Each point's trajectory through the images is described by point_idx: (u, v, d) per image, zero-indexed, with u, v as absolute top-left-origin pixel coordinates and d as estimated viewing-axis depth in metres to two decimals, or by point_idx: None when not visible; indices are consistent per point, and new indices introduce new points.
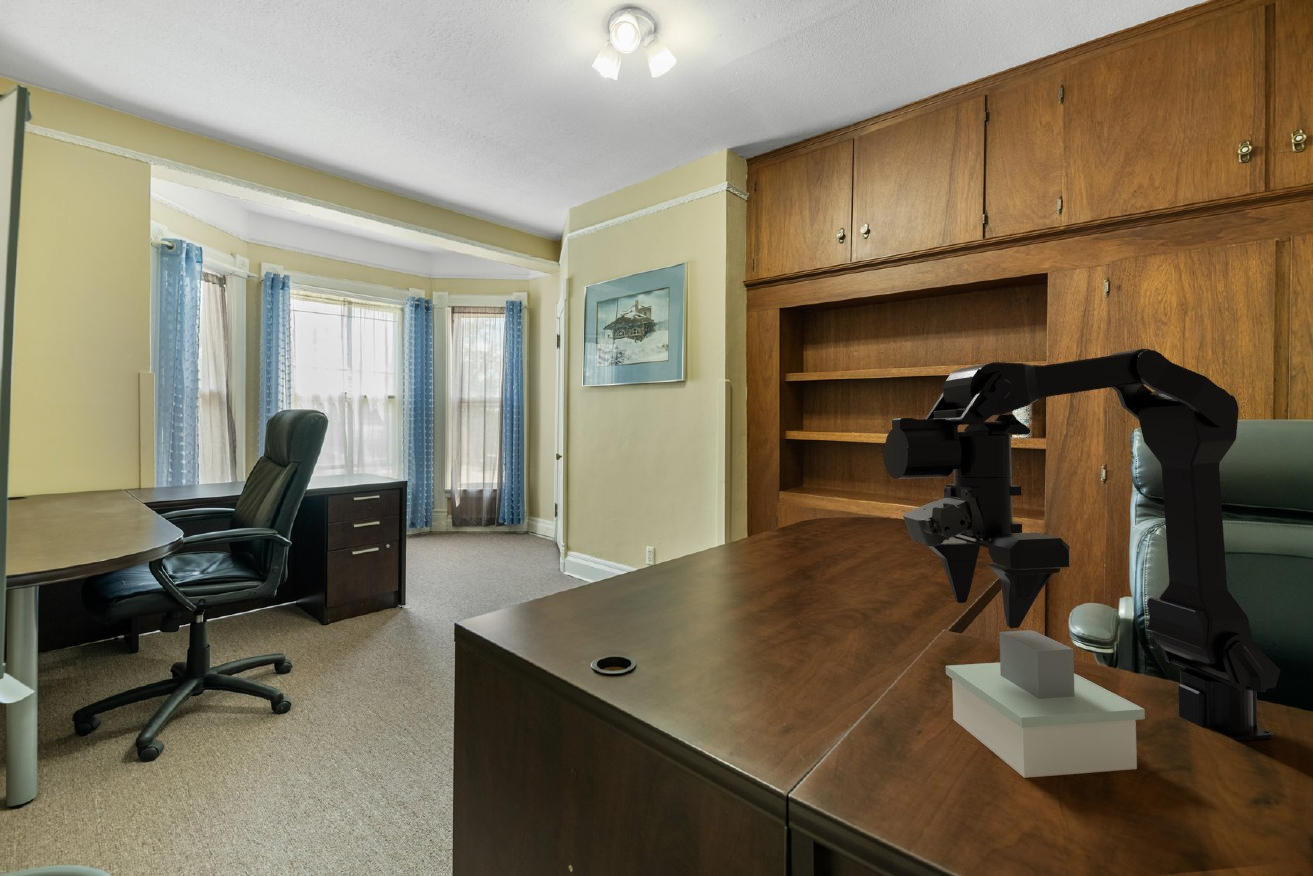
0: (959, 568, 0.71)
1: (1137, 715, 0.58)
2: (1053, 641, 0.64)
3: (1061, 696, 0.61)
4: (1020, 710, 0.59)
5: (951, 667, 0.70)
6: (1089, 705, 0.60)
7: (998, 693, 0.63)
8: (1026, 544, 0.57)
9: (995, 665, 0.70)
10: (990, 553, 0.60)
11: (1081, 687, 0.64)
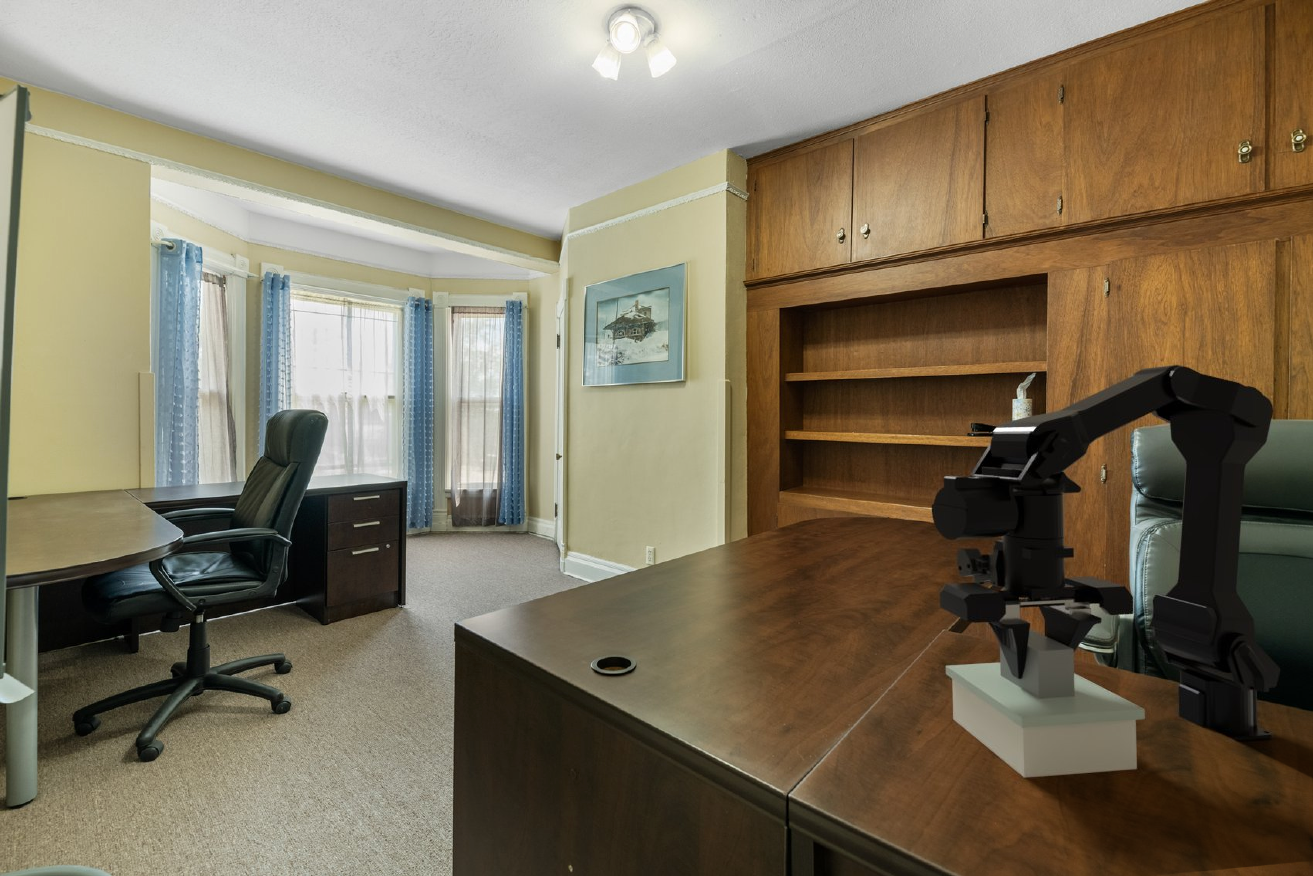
0: (1054, 638, 0.65)
1: (1137, 715, 0.58)
2: (1053, 641, 0.64)
3: (1061, 696, 0.61)
4: (1020, 710, 0.59)
5: (951, 667, 0.70)
6: (1089, 705, 0.60)
7: (998, 693, 0.63)
8: (945, 588, 0.65)
9: (995, 665, 0.70)
10: None
11: (1081, 687, 0.64)
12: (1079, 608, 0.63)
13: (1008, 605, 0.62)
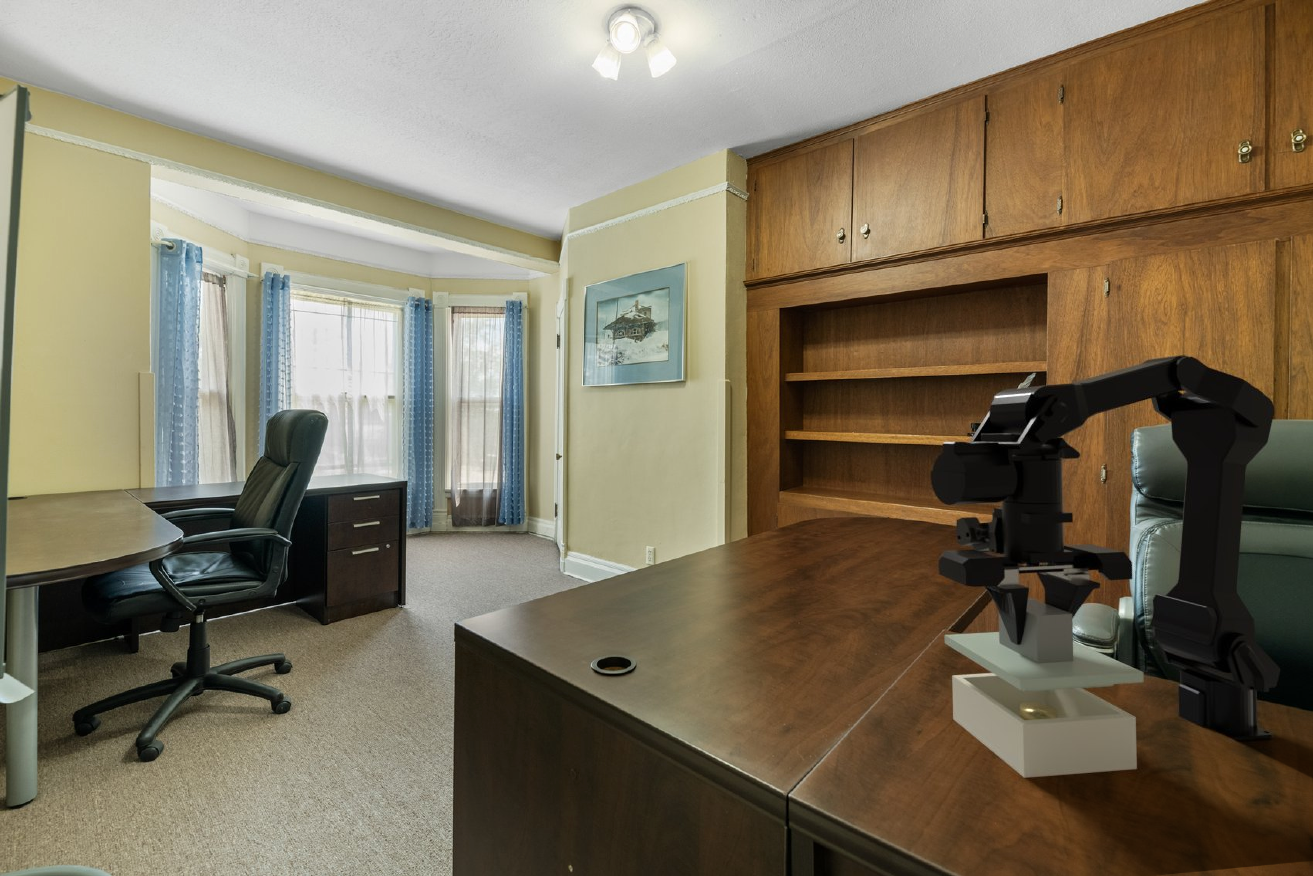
0: (1053, 604, 0.65)
1: (1136, 678, 0.58)
2: (1052, 607, 0.64)
3: (1059, 661, 0.61)
4: (1019, 673, 0.59)
5: (950, 636, 0.70)
6: (1088, 669, 0.59)
7: (997, 658, 0.63)
8: (944, 555, 0.65)
9: (994, 634, 0.70)
10: None
11: (1080, 653, 0.64)
12: (1078, 574, 0.63)
13: (1007, 570, 0.62)
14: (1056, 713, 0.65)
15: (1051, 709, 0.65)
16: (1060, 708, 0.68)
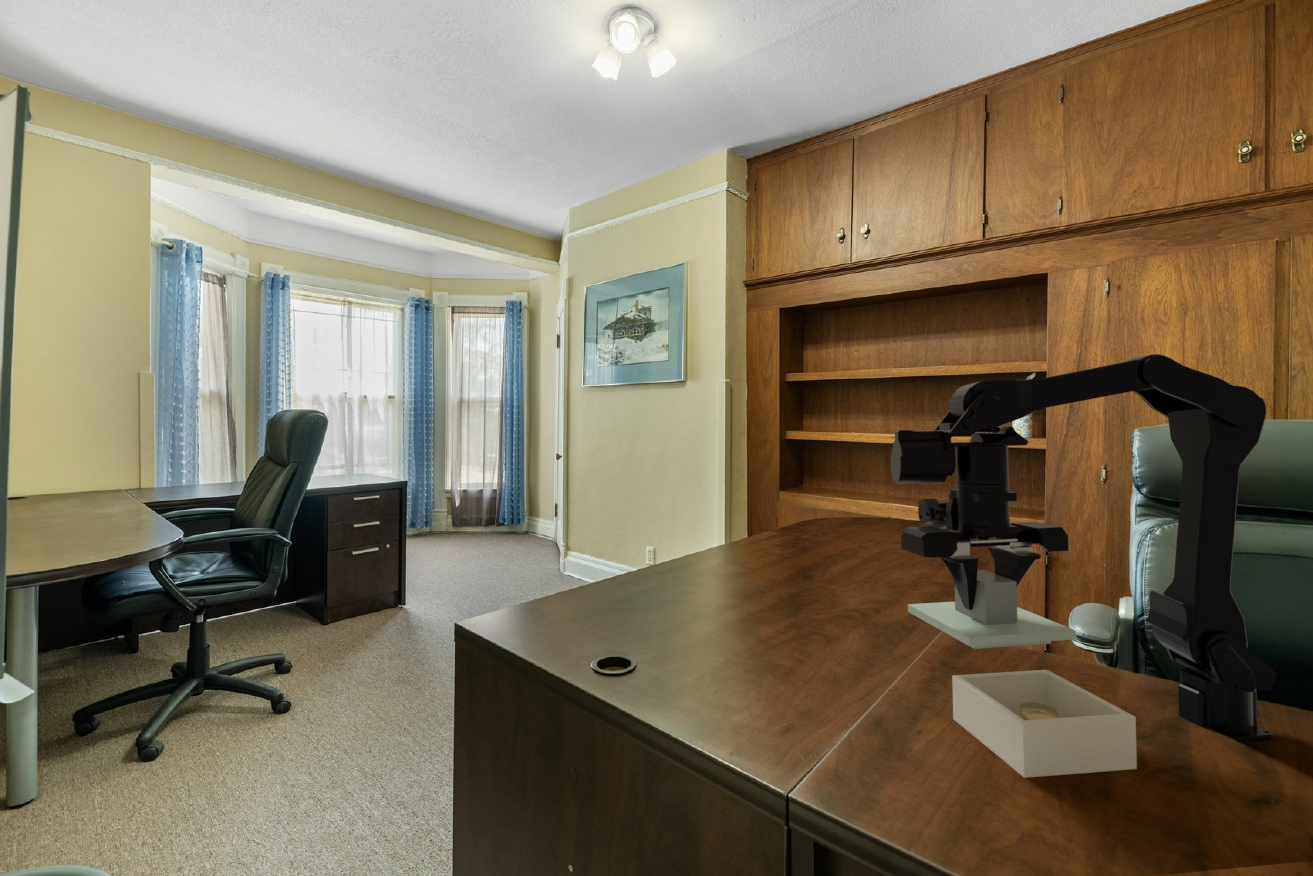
0: (1001, 574, 0.73)
1: (1069, 636, 0.67)
2: (1000, 576, 0.72)
3: (1005, 623, 0.70)
4: (969, 632, 0.67)
5: (912, 605, 0.78)
6: (1029, 628, 0.68)
7: (952, 621, 0.71)
8: (906, 531, 0.73)
9: (952, 603, 0.78)
10: None
11: (1024, 616, 0.72)
12: (1022, 547, 0.72)
13: (959, 543, 0.70)
14: (1056, 713, 0.65)
15: (1051, 709, 0.65)
16: (1060, 708, 0.68)
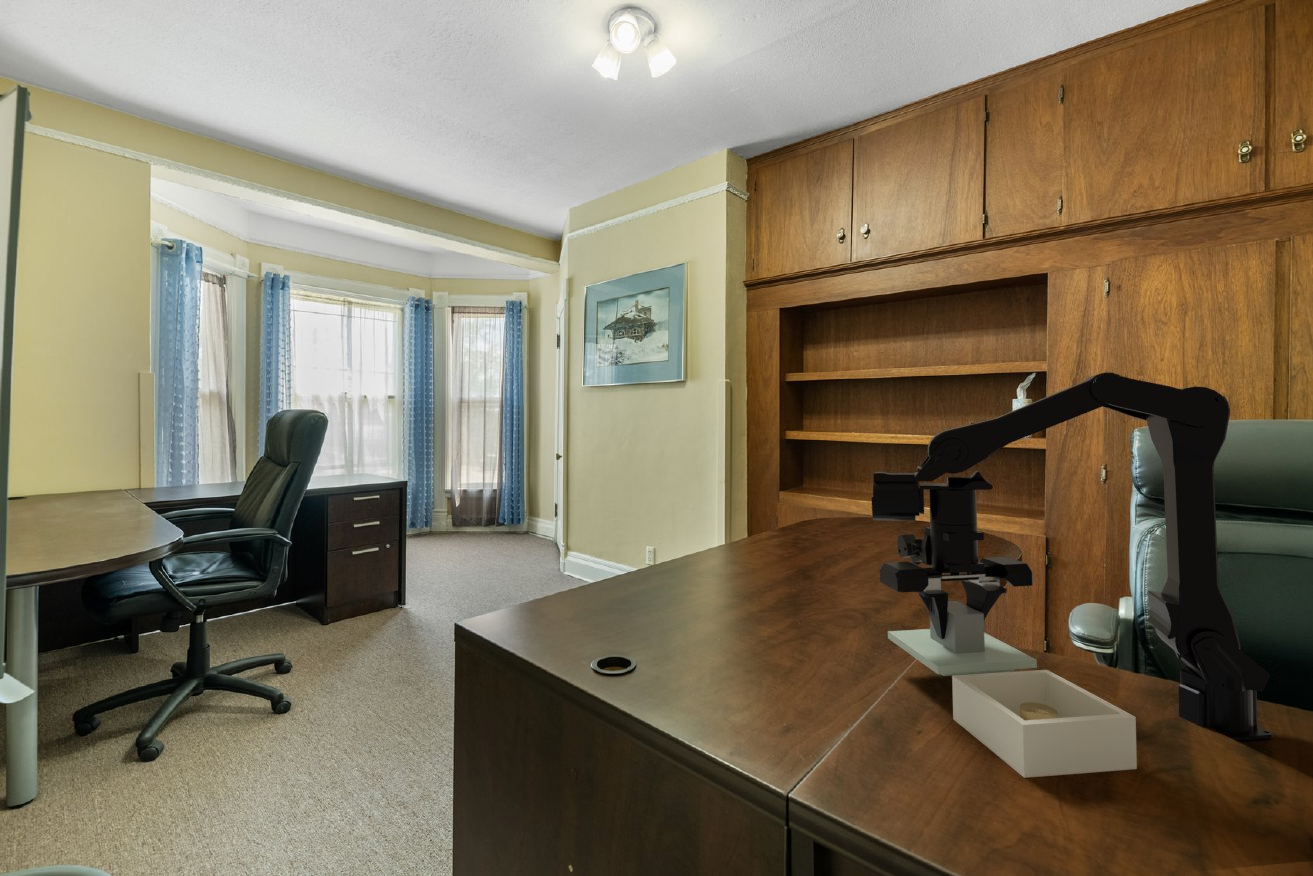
0: (971, 606, 0.79)
1: (1031, 664, 0.73)
2: (970, 608, 0.79)
3: (973, 652, 0.76)
4: (938, 661, 0.74)
5: (892, 632, 0.85)
6: (994, 657, 0.74)
7: (924, 650, 0.78)
8: (883, 566, 0.80)
9: (928, 631, 0.85)
10: None
11: (992, 645, 0.79)
12: (990, 581, 0.78)
13: (931, 578, 0.77)
14: (1056, 713, 0.65)
15: (1051, 709, 0.65)
16: (1060, 708, 0.68)
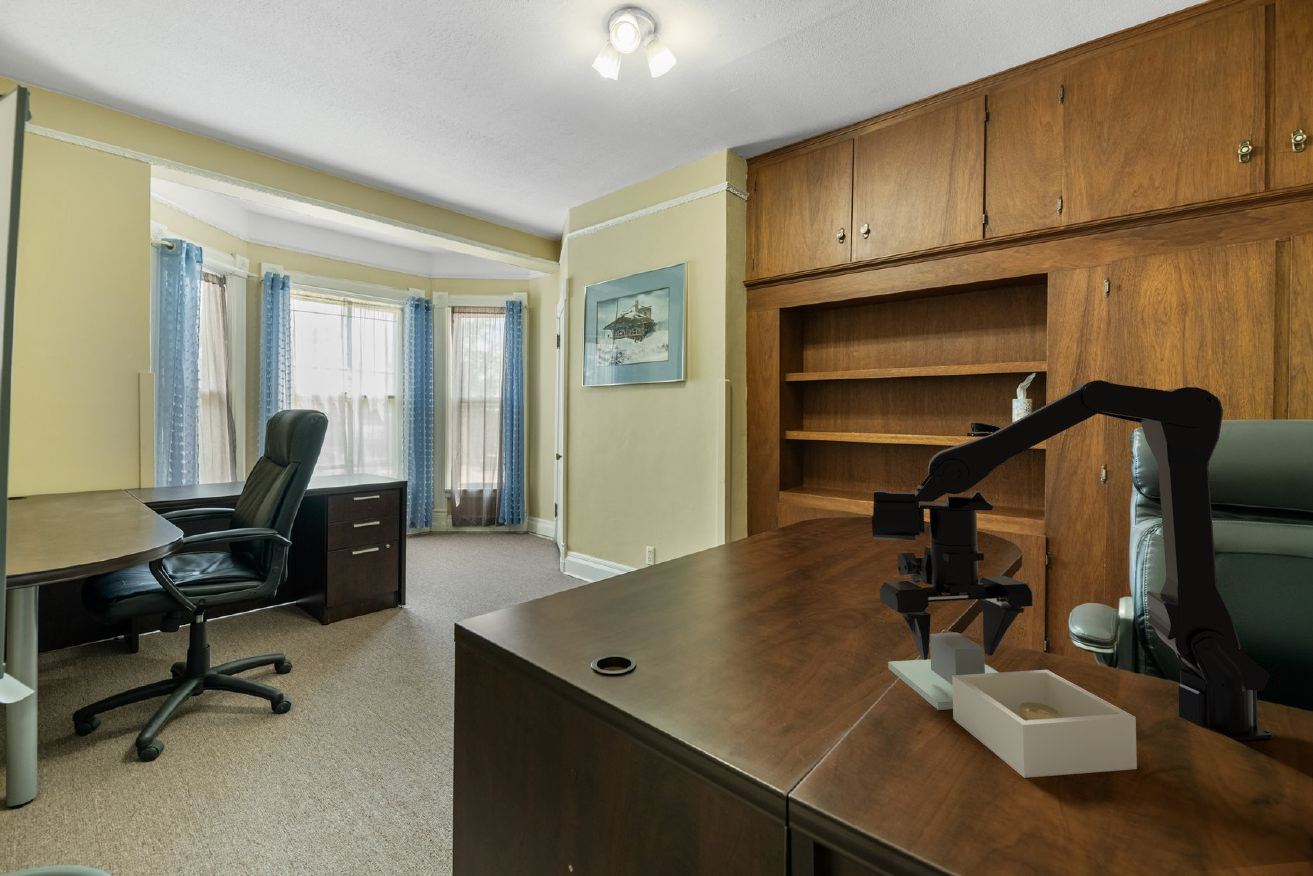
0: (988, 625, 0.80)
1: None
2: (970, 641, 0.79)
3: None
4: (938, 696, 0.74)
5: (892, 663, 0.85)
6: None
7: (925, 683, 0.78)
8: (883, 585, 0.80)
9: (929, 661, 0.85)
10: None
11: None
12: None
13: None
14: (1056, 713, 0.65)
15: (1051, 709, 0.65)
16: (1060, 708, 0.68)
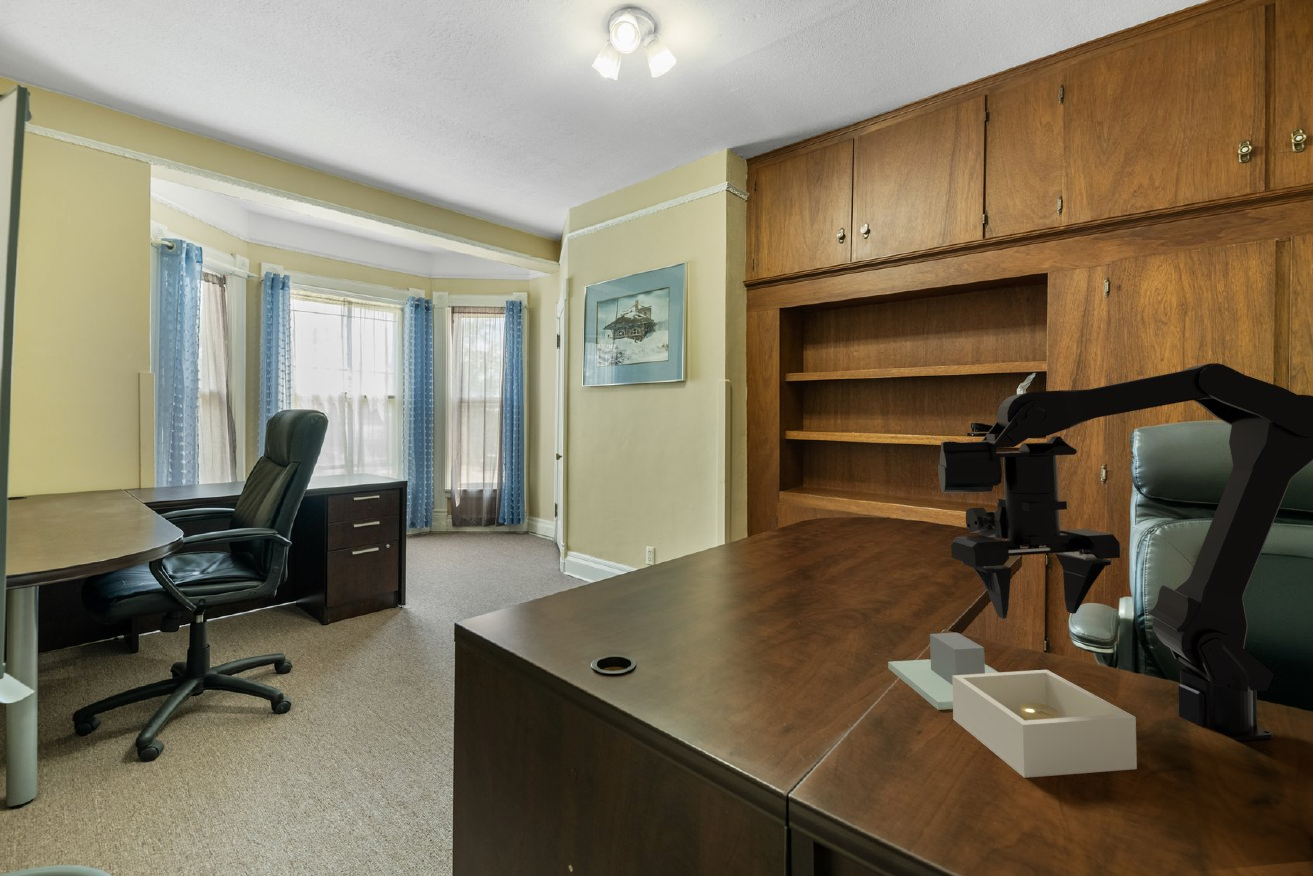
0: (1070, 580, 0.74)
1: None
2: (970, 641, 0.79)
3: None
4: (938, 696, 0.74)
5: (892, 663, 0.85)
6: None
7: (925, 683, 0.78)
8: (956, 540, 0.75)
9: (929, 661, 0.85)
10: None
11: None
12: (1091, 553, 0.73)
13: None
14: (1056, 713, 0.65)
15: (1051, 709, 0.65)
16: (1060, 708, 0.68)
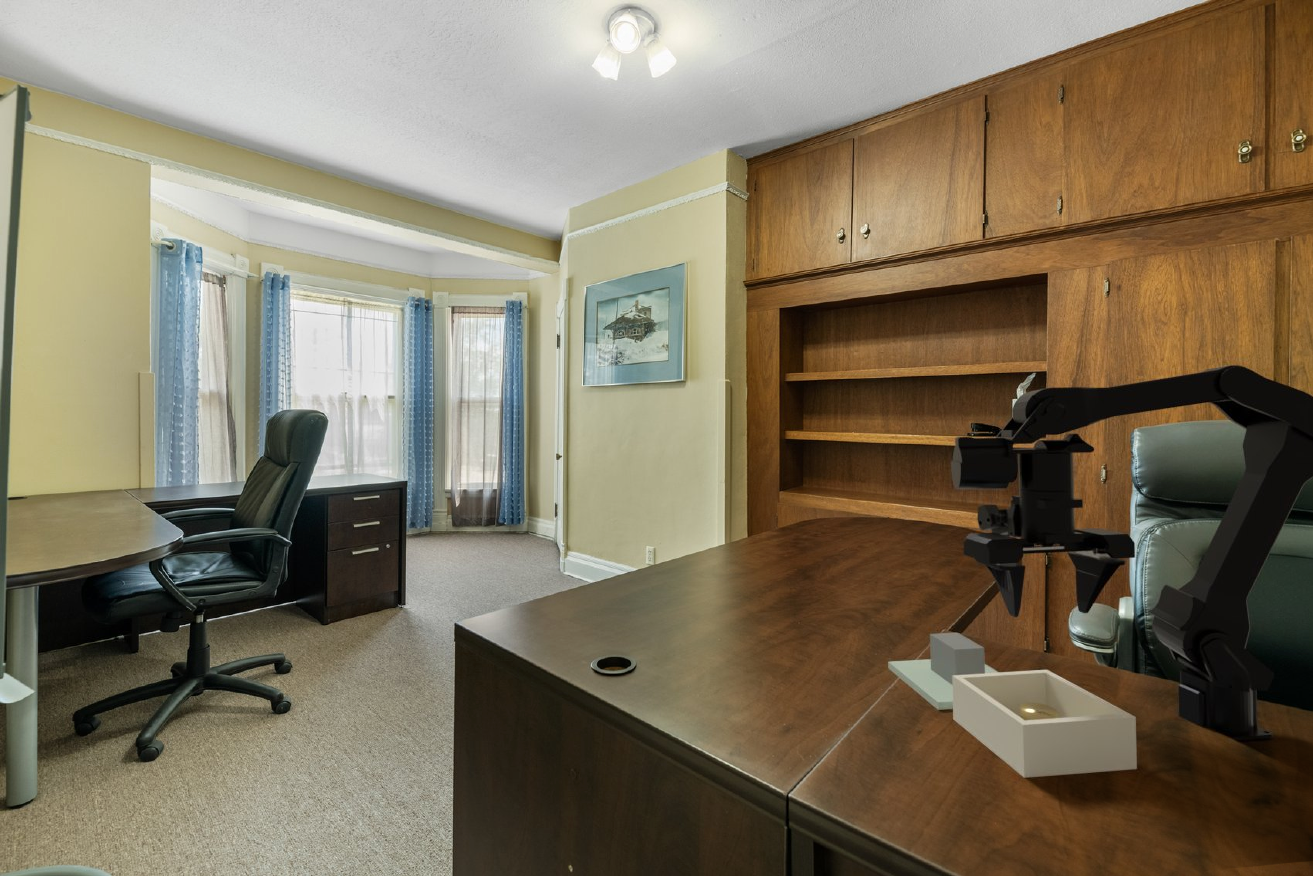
0: (1083, 580, 0.73)
1: None
2: (970, 641, 0.79)
3: None
4: (938, 696, 0.74)
5: (892, 663, 0.85)
6: None
7: (925, 683, 0.78)
8: (969, 537, 0.74)
9: (929, 661, 0.85)
10: None
11: None
12: (1105, 552, 0.72)
13: None
14: (1056, 713, 0.65)
15: (1051, 709, 0.65)
16: (1060, 708, 0.68)
